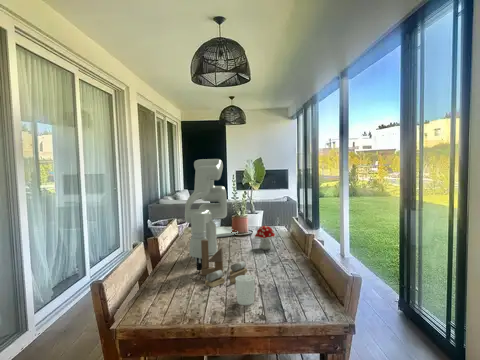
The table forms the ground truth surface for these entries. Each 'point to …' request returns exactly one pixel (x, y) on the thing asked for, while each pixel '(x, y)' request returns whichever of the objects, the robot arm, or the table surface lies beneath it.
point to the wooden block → (205, 259)
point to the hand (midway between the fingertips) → (199, 269)
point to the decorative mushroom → (265, 237)
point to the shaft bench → (216, 276)
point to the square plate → (224, 232)
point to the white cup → (245, 289)
